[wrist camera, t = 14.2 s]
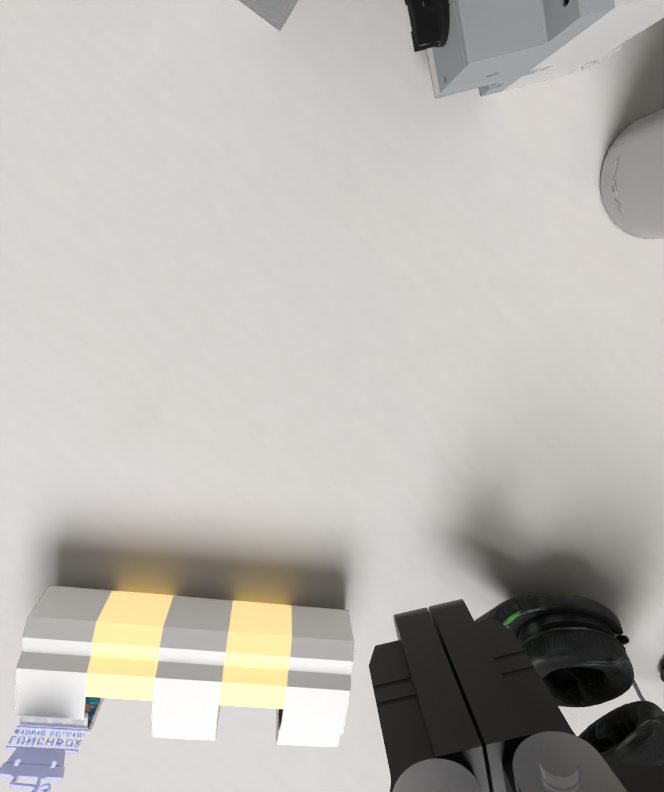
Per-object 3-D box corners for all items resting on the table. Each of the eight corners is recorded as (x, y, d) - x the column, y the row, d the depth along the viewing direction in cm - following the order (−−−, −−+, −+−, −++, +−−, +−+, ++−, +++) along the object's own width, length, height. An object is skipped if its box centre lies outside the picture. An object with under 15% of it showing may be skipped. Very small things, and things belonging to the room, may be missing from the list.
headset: (588, 611, 64) (397, 638, 47) (696, 550, 56) (514, 556, 39) (696, 799, 54) (499, 920, 37) (846, 755, 46) (686, 884, 29)
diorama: (53, 676, 52) (-23, 814, 39) (57, 573, 49) (-22, 684, 37) (329, 694, 54) (343, 829, 42) (346, 597, 52) (365, 709, 39)
